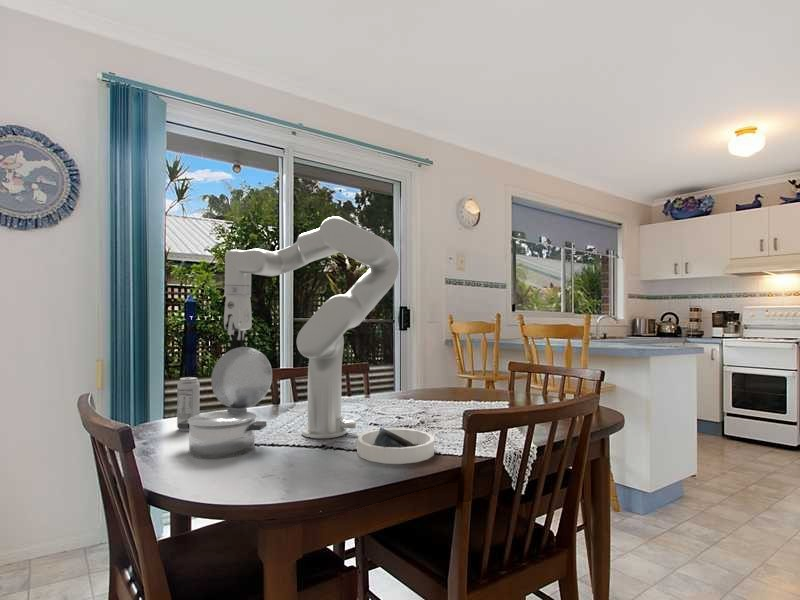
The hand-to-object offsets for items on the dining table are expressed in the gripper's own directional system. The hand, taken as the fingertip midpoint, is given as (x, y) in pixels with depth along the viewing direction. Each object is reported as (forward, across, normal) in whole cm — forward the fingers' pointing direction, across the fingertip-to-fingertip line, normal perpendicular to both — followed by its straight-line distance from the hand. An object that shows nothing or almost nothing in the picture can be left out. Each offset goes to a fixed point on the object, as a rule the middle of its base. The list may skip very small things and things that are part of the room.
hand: (236, 353), depth 148 cm
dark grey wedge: (+22, -22, -50) cm, 59 cm away
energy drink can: (+23, -2, +14) cm, 26 cm away
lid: (+6, -10, -5) cm, 13 cm away
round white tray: (+22, -19, -50) cm, 57 cm away
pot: (+22, -21, -6) cm, 31 cm away
